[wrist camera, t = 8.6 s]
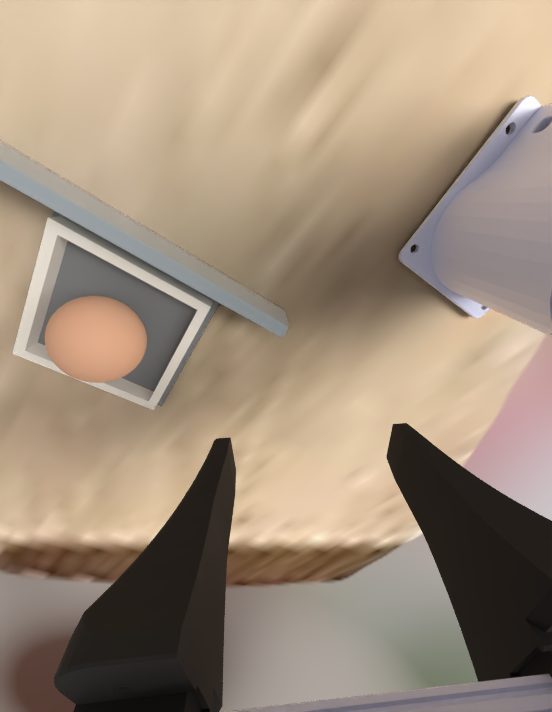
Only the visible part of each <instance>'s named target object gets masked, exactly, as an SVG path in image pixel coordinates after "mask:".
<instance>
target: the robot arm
mask: <svg viewBox="0 0 552 712" xmlns="http://www.w3.org/2000/svg"><path fill="white" fill-rule="evenodd" d="M508 125H509V126H510V131H509V133H508V134H506V127H507V126H508ZM414 244H415V245H416V249H415V250H414V251H413V252H411V247H412V246H413V245H414ZM399 260H400V262H401V263H403V264H404V265H405V266H406V267H408V268H409V269H410V270H412V271H413V272H414V273H415V274H417V275H418V276H419V277H421V278H422V279H423V280H425V281H426V282H427V283H428V284H430V285H431V286H432V287H434V288H435V289H436V290H437V291H439V292H440V293H441V294H443V295H444V296H445V297H446V298H448V299H449V300H450V301H452V302H453V303H454V304H455V305H457V306H458V307H459V308H461V309H462V310H463V311H464V312H466V313H467V314H468V315H470V316H471V317H473V318H480V317H482V316H483V315H484V314H485V313H486V312H487V311H488V310H489V309H492V310H495V311H497V312H499V313H501V314H503V315H506V316H508V317H510V318H512V319H514V320H517V321H519V322H521V323H523V324H526V325H528V326H530V327H532V328H534V329H537V330H539V331H541V332H543V333H545V334H548V335H550V336H552V103H551V104H548V105H545V106H541V105H540V103H539V102H538V101H537V100H536V98H535V97H533V96H527V97H524V98H522V99H520V100H519V101H518V102H517V103H516V104H515V105H514V106H513V108H512V109H511V110H510V112H509V113H508V114H507V115H506V117H505V118H504V119H503V121H502V122H501V123H500V124H499V126H498V127H497V128H496V129H495V131H494V132H493V133H492V135H491V136H490V137H489V138H488V140H487V141H486V142H485V144H484V145H483V146H482V147H481V149H480V150H479V151H478V152H477V154H476V155H475V156H474V158H473V159H472V160H471V161H470V163H469V164H468V165H467V167H466V168H465V169H464V170H463V172H462V173H461V174H460V176H459V177H458V178H457V179H456V181H455V182H454V183H453V184H452V186H451V187H450V188H449V190H448V191H447V192H446V193H445V195H444V196H443V197H442V199H441V200H440V201H439V202H438V204H437V205H436V206H435V207H434V209H433V210H432V211H431V213H430V214H429V215H428V216H427V218H426V219H425V220H424V222H423V223H422V224H421V225H420V227H419V228H418V229H417V231H416V232H415V233H414V234H413V236H412V237H411V238H410V239H409V241H408V242H407V243H406V245H405V246H404V247H403V248H402V250H401V251H400V253H399ZM482 305H484V306H483V307H482V308H481V306H482ZM387 460H388V463H389V465H390V468H391V471H392V473H393V476H394V478H395V481H396V483H397V485H398V486H399V488H400V490H401V492H402V494H403V496H404V498H405V500H406V502H407V504H408V506H409V508H410V509H411V511H412V513H413V515H414V517H415V519H416V521H417V523H418V525H419V526H420V528H421V530H422V532H423V534H424V536H425V539H426V541H427V543H428V545H429V548H430V550H431V553H432V555H433V557H434V560H435V562H436V564H437V567H438V569H439V572H440V574H441V577H442V580H443V582H444V585H445V587H446V590H447V592H448V595H449V598H450V600H451V603H452V606H453V609H454V611H455V614H456V617H457V620H458V622H459V625H460V628H461V631H462V633H463V637H464V639H465V643H466V645H467V648H468V651H469V654H470V657H471V660H472V663H473V666H474V669H475V673H476V675H477V679H478V682H474V683H465V684H456V685H448V686H439V687H430V688H422V689H414V690H405V691H397V692H388V693H379V694H371V695H362V696H354V697H345V698H336V699H328V700H319V701H311V702H302V703H295V704H285V705H277V706H268V707H259V708H252V709H243V710H234V711H226V712H552V521H551V520H549V519H547V518H545V517H543V516H541V515H539V514H537V513H535V512H534V511H532V510H530V509H528V508H527V507H525V506H523V505H521V504H519V503H518V502H516V501H514V500H513V499H511V498H509V497H507V496H506V495H504V494H502V493H501V492H499V491H498V490H496V489H494V488H492V487H491V486H490V485H488V484H487V483H485V482H483V481H482V480H480V479H479V478H477V477H476V476H475V475H473V474H472V473H470V472H469V471H467V470H466V469H465V468H463V467H462V466H460V465H459V464H458V463H456V462H455V461H454V460H452V459H451V458H450V457H448V456H447V455H446V454H445V453H443V452H442V451H441V450H439V449H438V448H437V447H436V446H434V445H433V444H432V443H431V442H429V441H428V440H427V439H426V438H424V437H423V436H422V435H421V434H419V433H418V432H417V431H416V430H415V429H413V428H412V427H411V426H409V425H408V424H407V423H403V424H393V427H392V432H391V437H390V442H389V447H388V452H387ZM235 483H236V468H235V462H234V456H233V450H232V444H231V438H219V439H216V440H215V441H214V443H213V445H212V447H211V450H210V452H209V454H208V456H207V458H206V460H205V462H204V464H203V466H202V468H201V469H200V471H199V473H198V475H197V477H196V478H195V480H194V482H193V484H192V485H191V487H190V488H189V490H188V492H187V493H186V495H185V496H184V498H183V499H182V501H181V503H180V504H179V505H178V507H177V508H176V510H175V511H174V513H173V514H172V515H171V517H170V518H169V520H168V521H167V522H166V524H165V525H164V526H163V528H162V529H161V530H160V531H159V533H158V534H157V535H156V536H155V538H154V539H153V540H152V541H151V543H150V544H149V545H148V546H147V547H146V549H145V550H144V551H143V552H142V553H141V554H140V555H139V556H138V558H137V559H136V560H135V561H134V562H133V563H132V564H131V565H130V566H129V567H128V569H127V570H126V571H125V572H124V573H123V574H122V575H121V576H120V577H119V578H118V579H117V580H116V581H115V582H114V583H113V584H112V585H111V587H109V588H108V590H106V591H105V592H104V593H103V594H102V595H101V596H100V597H99V598H98V599H97V600H96V601H95V602H94V603H93V604H92V605H91V606H90V607H89V608H88V609H87V610H86V611H85V612H84V614H83V615H82V618H81V619H80V621H79V624H78V625H77V627H76V629H75V631H74V633H73V635H72V637H71V639H70V641H69V644H68V646H67V648H66V651H65V653H64V656H63V658H62V660H61V662H60V665H59V667H58V670H57V672H56V674H55V677H54V684H55V687H56V688H57V689H58V690H59V691H60V692H61V693H62V694H63V695H65V696H66V697H68V698H69V699H70V700H71V701H73V702H74V703H75V704H76V706H75V709H74V712H219V711H220V709H221V707H222V691H223V688H222V687H223V646H224V615H225V590H226V568H227V554H228V545H229V537H230V530H231V522H232V515H233V507H234V499H235Z"/></svg>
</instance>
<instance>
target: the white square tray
mask: <svg viewBox="0 0 552 712" xmlns="http://www.w3.org/2000/svg"><path fill="white" fill-rule="evenodd" d="M85 296H104V297H109V298H112V299H115V300H118V301H120V302H122V303H124V304H125V305H127V306H128V307H130V308H131V309H132V310H133V311H134V312H135V313H136V314H137V315H138V316H139V318H140V319H141V321H142V323H143V325H144V327H145V330H146V335H147V346H146V351H145V354H144V356H143V358H142V360H141V362H140V363H139V364H138V365H137V367H136V368H135V369H134V370H132V371H131V372H130V373H128V374H127V375H125V376H123V377H121V378H119V379H117V380H113V381H109V382H102V383H92V382H85V381H82V382H84V383H87V384H89V385H92V386H94V387H97V388H99V389H102V390H104V391H107V392H109V393H112V394H114V395H117V396H119V397H122V398H124V399H126V400H129V401H131V402H134V403H136V404H139V405H141V406H144V407H146V408H149V409H151V410H154V409H155V407H156V405H157V404H158V405H160V406H162V404H163V403H164V401H165V399H166V397H167V396H168V394H169V392H170V390H171V388H172V387H173V385H174V383H175V381H176V380H177V378H178V376H179V374H180V372H181V371H182V369H183V367H184V365H185V364H186V362H187V360H188V358H189V356H190V355H191V353H192V351H193V349H194V348H195V346H196V344H197V342H198V340H199V339H200V337H201V335H202V333H203V332H204V330H205V328H206V326H207V325H208V323H209V321H210V319H211V317H212V316H213V314H214V312H215V310H216V309H217V307H218V305H219V302H217V301H215V300H213V299H211V298H210V297H208V296H206V295H204V294H202V293H201V292H199V291H197V290H195V289H194V288H192V287H190V286H188V285H186V284H185V283H183V282H181V281H179V280H177V279H176V278H174V277H172V276H170V275H169V274H167V273H165V272H163V271H161V270H160V269H158V268H156V267H154V266H152V265H151V264H149V263H147V262H145V261H144V260H142V259H140V258H138V257H136V256H135V255H133V254H131V253H129V252H127V251H126V250H124V249H122V248H120V247H119V246H117V245H115V244H113V243H111V242H110V241H108V240H106V239H104V238H102V237H101V236H99V235H97V234H95V233H94V232H92V231H90V230H88V229H86V228H85V227H83V226H81V225H79V224H77V223H76V222H74V221H72V220H70V219H69V218H67V217H65V216H63V215H61V214H60V213H58V212H56V211H54V213H53V217H48V218H47V222H46V226H45V230H44V234H43V238H42V241H41V245H40V249H39V253H38V257H37V261H36V264H35V268H34V272H33V276H32V280H31V284H30V288H29V291H28V295H27V299H26V303H25V307H24V311H23V315H22V318H21V322H20V326H19V330H18V334H17V338H16V341H15V345H14V349H13V353H12V354H14V355H17V356H19V357H22V358H24V359H27V360H29V361H32V362H34V363H37V364H39V365H42V366H44V367H47V368H49V369H52V370H54V371H57V372H59V373H62V374H64V375H67V374H66V373H64V372H63V371H61V370H60V369H59V368H58V367H57V366H56V365H55V364H54V362H53V361H52V360H51V358H50V356H49V355H48V352H47V350H46V346H45V330H46V326H47V324H48V322H49V319H50V318H51V316H52V315H53V314H54V313H55V311H56V310H57V309H58V308H60V307H61V306H62V305H64V304H65V303H67V302H69V301H71V300H74V299H76V298H80V297H85ZM67 376H69V375H67ZM69 377H71V376H69ZM72 378H73V377H72ZM74 379H75V378H74ZM77 380H78V379H77ZM79 381H81V380H79Z"/></svg>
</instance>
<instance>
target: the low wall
mask: <svg viewBox="0 0 552 712" xmlns="http://www.w3.org/2000/svg"><path fill="white" fill-rule="evenodd" d="M0 180H1V181H2V182H4V183H6V184H8V185H10V186H11V187H13V188H15V189H17V190H19V191H20V192H22V193H24V194H26V195H27V196H29V197H31V198H33V199H35V200H36V201H38V202H40V203H42V204H44V205H45V206H47V207H49V208H51V209H52V210H54V211H56V212H58V213H60V214H61V215H63V216H65V217H67V218H69V219H70V220H72V221H74V222H76V223H77V224H79V225H81V226H83V227H85V228H86V229H88V230H90V231H92V232H94V233H95V234H97V235H99V236H101V237H102V238H104V239H106V240H108V241H110V242H111V243H113V244H115V245H117V246H119V247H120V248H122V249H124V250H126V251H127V252H129V253H131V254H133V255H135V256H136V257H138V258H140V259H142V260H144V261H145V262H147V263H149V264H151V265H152V266H154V267H156V268H158V269H160V270H161V271H163V272H165V273H167V274H169V275H170V276H172V277H174V278H176V279H177V280H179V281H181V282H183V283H185V284H186V285H188V286H190V287H192V288H194V289H195V290H197V291H199V292H201V293H202V294H204V295H206V296H208V297H210V298H211V299H213V300H215V301H217V302H219V303H220V304H222V305H224V306H226V307H227V308H229V309H231V310H233V311H235V312H236V313H238V314H240V315H242V316H244V317H245V318H247V319H249V320H251V321H252V322H254V323H256V324H258V325H260V326H261V327H263V328H265V329H267V330H269V331H270V332H272V333H274V334H276V335H277V336H279V337H281V338H282V337H283V336H284V335H285V333H286V332H287V330H288V329H289V324H288V320H287V317H286V313H285V310H283V309H282V308H280V307H278V306H276V305H275V304H273V303H271V302H270V301H268V300H266V299H265V298H263V297H261V296H260V295H258V294H256V293H255V292H253V291H251V290H250V289H248V288H246V287H245V286H243V285H241V284H240V283H238V282H236V281H235V280H233V279H231V278H230V277H228V276H226V275H225V274H223V273H221V272H220V271H218V270H216V269H215V268H213V267H211V266H210V265H208V264H206V263H205V262H203V261H201V260H199V259H198V258H196V257H194V256H193V255H191V254H189V253H188V252H186V251H184V250H183V249H181V248H179V247H178V246H176V245H174V244H173V243H171V242H169V241H168V240H166V239H164V238H163V237H161V236H159V235H158V234H156V233H154V232H153V231H151V230H149V229H148V228H146V227H144V226H143V225H141V224H139V223H138V222H136V221H134V220H133V219H131V218H129V217H128V216H126V215H124V214H122V213H121V212H119V211H117V210H116V209H114V208H112V207H111V206H109V205H107V204H106V203H104V202H102V201H101V200H99V199H97V198H96V197H94V196H92V195H91V194H89V193H87V192H86V191H84V190H82V189H81V188H79V187H77V186H76V185H74V184H72V183H71V182H69V181H67V180H66V179H64V178H62V177H61V176H59V175H57V174H56V173H54V172H52V171H51V170H49V169H47V168H45V167H44V166H42V165H40V164H39V163H37V162H35V161H34V160H32V159H30V158H29V157H27V156H25V155H24V154H22V153H20V152H19V151H17V150H15V149H14V148H12V147H10V146H9V145H7V144H5V143H4V142H2V141H0Z"/></svg>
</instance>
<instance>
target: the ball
mask: <svg viewBox="0 0 552 712" xmlns="http://www.w3.org/2000/svg"><path fill="white" fill-rule="evenodd" d="M45 346H46V350H47V352H48V355H49V356H50V358H51V360H52V361H53V362H54V364H55V365H56V366H57V367H58V368H59V369H60V370H61V371H63V372H64V373H66V374H67V375H69V376H71V377H73V378H75V379H78V380H81V381H85V382H92V383H102V382H109V381H113V380H117V379H119V378H121V377H123V376H125V375H127V374H128V373H130V372H131V371H132V370H134V369H135V368H136V367H137V365H138V364H139V363H140V362H141V360H142V358H143V356H144V354H145V351H146V346H147V335H146V330H145V327H144V325H143V323H142V321H141V319H140V318H139V316H138V315H137V314H136V313H135V312H134V311H133V310H132V309H131V308H130V307H128V306H127V305H125V304H124V303H122V302H120V301H118V300H115V299H112V298H109V297H104V296H85V297H80V298H76V299H74V300H71V301H69V302H67V303H65V304H64V305H62V306H61V307H60V308H58V309H57V310H56V311H55V313H54V314H53V315H52V316H51V318H50V319H49V322H48V324H47V326H46V330H45Z"/></svg>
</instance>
